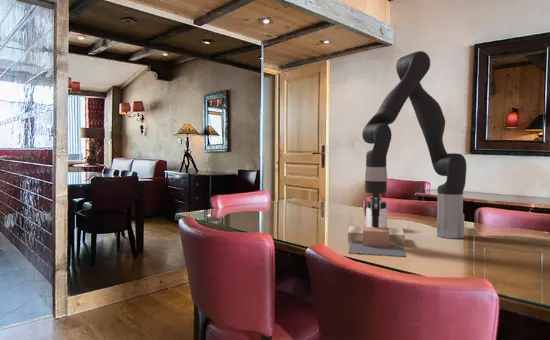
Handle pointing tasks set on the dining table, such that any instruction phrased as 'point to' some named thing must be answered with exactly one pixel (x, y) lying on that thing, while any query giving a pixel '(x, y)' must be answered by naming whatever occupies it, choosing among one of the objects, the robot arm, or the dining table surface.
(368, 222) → the jar
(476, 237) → the dining table surface
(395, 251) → the mat
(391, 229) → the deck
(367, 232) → the brown rectangular block
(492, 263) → the dining table surface
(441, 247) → the dining table surface
